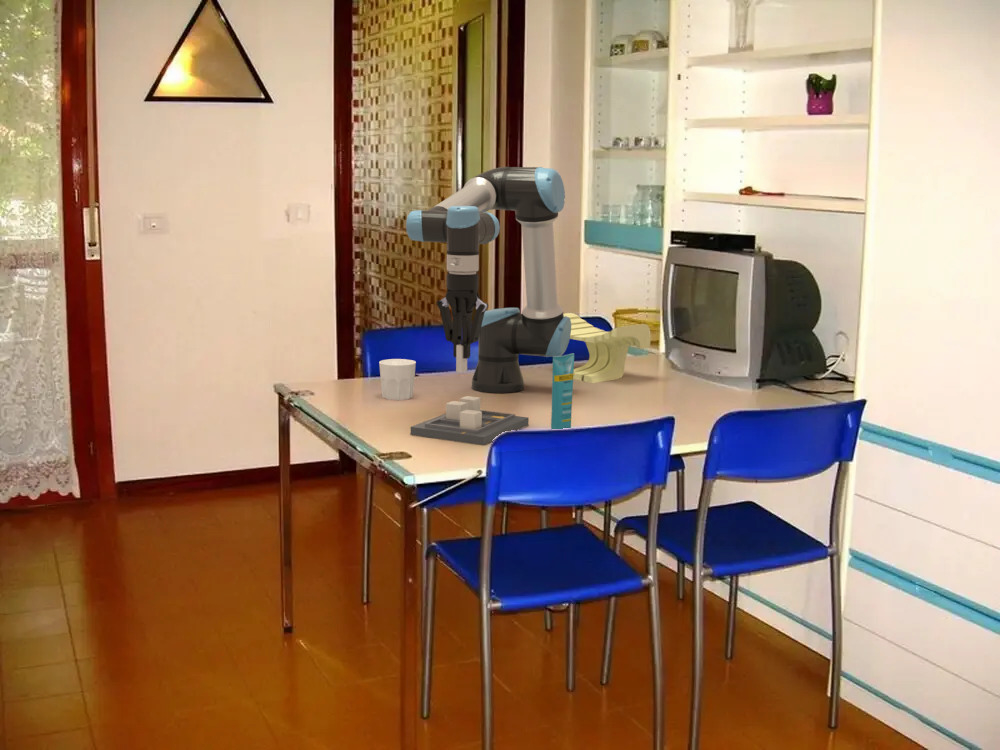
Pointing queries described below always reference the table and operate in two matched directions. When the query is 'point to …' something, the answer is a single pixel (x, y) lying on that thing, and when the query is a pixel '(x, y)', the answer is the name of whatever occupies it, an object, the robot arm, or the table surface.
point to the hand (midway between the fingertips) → (461, 371)
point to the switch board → (451, 429)
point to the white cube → (471, 419)
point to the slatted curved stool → (606, 348)
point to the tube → (562, 391)
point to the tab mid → (455, 409)
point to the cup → (397, 378)
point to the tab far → (472, 402)
